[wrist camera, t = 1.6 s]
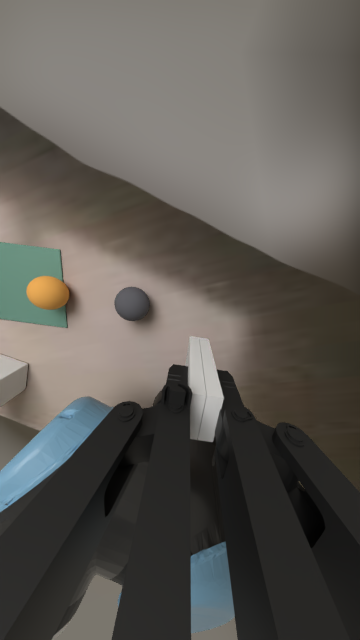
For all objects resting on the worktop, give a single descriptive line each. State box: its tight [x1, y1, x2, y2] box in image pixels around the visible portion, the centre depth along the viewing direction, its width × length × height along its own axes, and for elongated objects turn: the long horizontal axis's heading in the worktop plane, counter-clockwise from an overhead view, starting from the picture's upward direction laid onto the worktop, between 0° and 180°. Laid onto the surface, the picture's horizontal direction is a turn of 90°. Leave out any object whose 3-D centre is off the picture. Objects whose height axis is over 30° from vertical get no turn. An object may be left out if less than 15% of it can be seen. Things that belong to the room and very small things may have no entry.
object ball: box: [26, 276, 69, 310], centre depth 27 cm, size 6×6×6 cm
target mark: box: [0, 242, 67, 328], centre depth 30 cm, size 14×14×1 cm
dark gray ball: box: [115, 287, 150, 321], centre depth 27 cm, size 6×6×6 cm
